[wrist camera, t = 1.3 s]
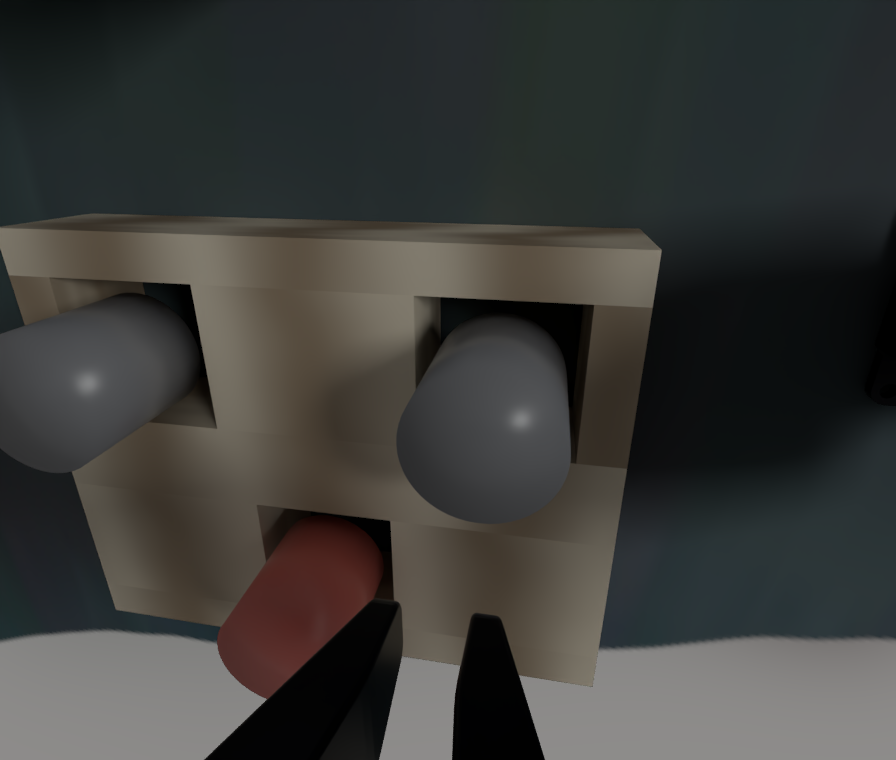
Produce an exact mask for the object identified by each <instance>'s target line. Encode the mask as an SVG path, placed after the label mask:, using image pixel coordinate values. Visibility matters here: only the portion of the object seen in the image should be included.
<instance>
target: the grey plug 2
mask: <svg viewBox="0 0 896 760" xmlns="http://www.w3.org/2000/svg"><path fill="white" fill-rule="evenodd" d="M396 446H397V454H398V458H399V462H400V465H401V467H402V470H403V472H404V474H405V476H406V478H407V479H408V481H409V483H410V484H411V485H412V487H413V488H414V489H415V490H416V491H417V493H418V494H419V495H420V496H421V497H422V498H424V499H425V500H426V501H427V502H428V503H429V504H431V505H432V506H434V507H435V508H437V509H438V510H440V511H442V512H444V513H446V514H448V515H450V516H453V517H455V518H458V519H461V520H465V521H468V522H474V523H482V524H500V523H507V522H512V521H516V520H519V519H522V518H525V517H527V516H530V515H532V514H533V513H535V512H537V511H539V510H540V509H541V508H543V507H544V506H545V505H547V504H548V503H549V502H550V501H551V500H552V499H553V498H554V497H555V496H556V494H557V493H558V492H559V490H560V489H561V487H562V485H563V483H564V482H565V480H566V477H567V474H568V471H569V466H570V461H571V443H570V424H569V405H568V386H567V370H566V364H565V360H564V356H563V354H562V352H561V349H560V348H559V346H558V344H557V343H556V341H555V340H554V339H553V337H552V336H551V335H550V334H549V333H548V332H547V331H546V330H545V329H544V328H542V327H541V326H539V325H538V324H537V323H535V322H533V321H531V320H529V319H527V318H524V317H522V316H519V315H515V314H510V313H487V314H482V315H478V316H475V317H473V318H470V319H468V320H466V321H465V322H463V323H461V324H460V325H458V326H457V327H456V328H455V329H453V330H452V332H451V333H450V334H449V335H448V336H447V337H446V339H445V340H444V341H443V343H442V345H441V347H440V348H439V350H438V352H437V354H436V355H435V357H434V359H433V361H432V362H431V364H430V366H429V367H428V369H427V371H426V373H425V374H424V376H423V378H422V380H421V381H420V383H419V385H418V387H417V388H416V390H415V392H414V394H413V395H412V397H411V399H410V401H409V402H408V404H407V406H406V408H405V410H404V412H403V413H402V415H401V418H400V421H399V424H398V429H397V436H396Z"/></svg>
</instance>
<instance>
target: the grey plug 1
mask: <svg viewBox="0 0 896 760" xmlns="http://www.w3.org/2000/svg"><path fill="white" fill-rule="evenodd" d="M200 370H201V360H200V353H199V349H198V346H197V343H196V341H195V338H194V336H193V334H192V333H191V331H190V329H189V328H188V326H187V325H186V324H185V322H184V321H183V320H182V318H181V317H180V316H179V315H178V314H177V313H176V312H174V311H173V310H172V309H171V308H170V307H168V306H167V305H165V304H164V303H163V302H161V301H159V300H157V299H155V298H153V297H150V296H148V295H144V294H140V293H121V294H117V295H114V296H111V297H108V298H105V299H103V300H100V301H97V302H94V303H91V304H88V305H85V306H82V307H79V308H76V309H73V310H70V311H67V312H64V313H61V314H58V315H55V316H52V317H49V318H46V319H43V320H40V321H37V322H34V323H31V324H28V325H26V326H23V327H20V328H17V329H14V330H11V331H8V332H5V333H2V334H0V449H1V450H3V451H4V452H5V453H7V454H8V455H9V456H11V457H12V458H14V459H16V460H17V461H19V462H21V463H23V464H25V465H27V466H29V467H32V468H34V469H37V470H41V471H45V472H50V473H67V472H71V471H75V470H77V469H80V468H81V467H83V466H84V465H86V464H87V463H89V462H90V461H92V460H93V459H95V458H96V457H98V456H99V455H101V454H102V453H103V452H105V451H106V450H108V449H109V448H111V447H112V446H114V445H115V444H117V443H118V442H120V441H121V440H123V439H124V438H126V437H127V436H129V435H130V434H132V433H133V432H134V431H136V430H137V429H139V428H140V427H142V426H143V425H145V424H146V423H148V422H149V421H151V420H152V419H154V418H155V417H157V416H158V415H160V414H161V413H163V412H164V411H165V410H167V409H168V408H170V407H171V406H173V405H174V404H176V403H177V402H179V401H180V400H182V399H183V398H185V397H186V396H188V395H189V394H190V393H191V392H192V390H193V389H194V388H195V386H196V384H197V382H198V379H199V376H200Z"/></svg>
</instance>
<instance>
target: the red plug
mask: <svg viewBox="0 0 896 760" xmlns="http://www.w3.org/2000/svg"><path fill="white" fill-rule="evenodd" d="M383 571H384V564H383V558H382V555H381V552H380V550H379V548H378V546H377V545H376V543H375V542H374V541H373V539H372V538H371V537H370V536H369V535H368V534H367V533H366V532H365V531H364V530H362V529H361V528H360V527H358V526H357V525H355V524H353V523H351V522H349V521H347V520H344V519H342V518H338V517H335V516H329V515H314V516H309V517H306V518H303V519H301V520H299V521H297V522H296V523H295V524H293V525H292V526H291V527H290V529H289V530H288V532H287V533H286V534H285V536H284V537H283V539H282V540H281V542H280V543H279V545H278V546H277V547H276V549H275V550H274V552H273V553H272V555H271V556H270V557H269V559H268V560H267V562H266V563H265V565H264V566H263V568H262V569H261V570H260V572H259V573H258V575H257V576H256V578H255V579H254V580H253V582H252V583H251V585H250V586H249V588H248V589H247V591H246V592H245V593H244V595H243V596H242V598H241V599H240V601H239V602H238V604H237V605H236V606H235V608H234V609H233V611H232V612H231V614H230V615H229V616H228V618H227V619H226V621H225V622H224V624H223V625H222V627H221V628H220V631H219V633H218V638H217V645H218V651H219V654H220V656H221V659H222V661H223V663H224V665H225V666H226V667H227V669H228V670H229V672H230V673H231V674H232V675H233V676H234V677H235V678H236V679H237V680H238V681H239V682H240V683H241V684H242V685H244V686H245V687H246V688H248V689H249V690H251V691H252V692H254V693H256V694H258V695H259V696H262V697H264V698H266V699H268V698H269V697H270V696H271V695H272V694H273V693H274V692H276V691H277V690H278V689H279V688H280V687H281V686H282V685H283V684H284V683H285V682H286V681H287V680H288V679H289V678H290V677H291V676H292V675H293V674H294V673H295V672H296V671H297V670H298V669H300V668H301V667H302V666H303V665H304V664H305V663H306V662H307V661H308V660H309V659H310V658H311V657H312V656H313V655H314V654H315V653H316V652H317V651H318V650H319V649H320V648H321V647H323V646H324V645H325V644H326V643H327V642H328V641H329V640H330V639H331V638H332V637H333V636H334V635H335V634H336V633H337V632H338V631H339V630H340V629H341V628H342V627H343V626H344V625H345V624H347V623H348V622H349V621H350V620H351V619H352V618H353V617H354V616H355V615H356V614H357V613H358V612H359V611H360V610H361V609H362V608H363V607H364V606H365V605H366V604H367V603H368V602H370V601H371V600H373V598H374V596H375V594H376V591H377V589H378V586H379V584H380V581H381V579H382V576H383Z"/></svg>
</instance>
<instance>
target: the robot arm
mask: <svg viewBox="0 0 896 760" xmlns="http://www.w3.org/2000/svg"><path fill="white" fill-rule="evenodd" d="M875 347H876V348H877V351H876V354H875V357H874V360H873V363H872V366H871V369H870V372H869V375H868V378H867V381H866V384H865V393H866V395H867V396H868V397H870V398H871V399H872V400H873V401H875V402H876V403H877V404H881V405H888V406H896V281H895V284H894V287H893V290H892V293H891V296H890V299H889V302H888V305H887V308H886V311H885V314H884V317H883V320H882V323H881V326H880V329H879V332H878V335H877V337H876V340H875ZM887 384H891V387H890V389H889V390H888V391H886V392H885V393H880V390H881V388H882V387H883V386H885V385H887ZM402 651H403V626H402V608H401V605H400V603H399V602H397V601H392V600H386V599H379V598H375V599H373V600H371V601H370V602H368V603H367V604H366V605H365V606H364V607H363V608H362V609H361V610H360V611H359V612H358V613H357V614H356V615H355V616H354V617H353V618H352V619H351V620H350V621H349V622H348V623H347V624H345V625H344V626H343V627H342V628H341V629H340V630H339V631H338V632H337V633H336V634H335V635H334V636H333V637H332V638H331V639H330V640H329V641H328V642H327V643H326V644H325V645H324V646H323V647H321V648H320V649H319V650H318V651H317V652H316V653H315V654H314V655H313V656H312V657H311V658H310V659H309V660H308V661H307V662H306V663H305V664H304V665H303V666H302V667H301V668H300V669H298V670H297V671H296V672H295V673H294V674H293V675H292V676H291V677H290V678H289V679H288V680H287V681H286V682H285V683H284V684H283V685H282V686H281V687H280V688H279V689H278V690H277V691H276V692H274V693H273V694H272V695H271V696H270V697H269V698H268V699H267V700H266V701H265V702H264V703H263V704H262V705H261V706H260V707H259V708H258V709H257V710H256V711H255V712H254V713H253V714H252V715H250V717H248V718H247V719H246V720H245V721H244V722H243V723H242V724H241V725H240V726H239V727H238V728H237V729H236V730H235V731H234V732H233V733H232V734H231V735H230V736H229V737H227V738H226V739H225V741H223V742H222V743H221V744H220V745H219V746H218V747H217V748H216V749H215V750H214V751H213V752H212V753H211V754H210V755H209V756H208V757H207V758H206V759H205V760H379V757H380V753H381V749H382V744H383V740H384V735H385V731H386V726H387V722H388V717H389V713H390V708H391V704H392V699H393V694H394V690H395V685H396V681H397V676H398V672H399V667H400V663H401V658H402ZM453 726H454V727H453V751H452V760H545V759H544V755H543V752H542V749H541V746H540V742H539V739H538V736H537V733H536V729H535V726H534V723H533V720H532V716H531V713H530V710H529V707H528V703H527V700H526V697H525V694H524V690H523V688H522V685H521V681H520V678H519V674H518V671H517V668H516V665H515V661H514V658H513V655H512V652H511V648H510V645H509V642H508V639H507V635H506V632H505V629H504V626H503V623H502V620H501V619H500V617H499V616H496V615H489V614H482V613H474V614H473V615H472V616H471V619H470V623H469V628H468V633H467V638H466V642H465V647H464V652H463V657H462V661H461V666H460V671H459V676H458V680H457V687H456V693H455V705H454V725H453Z"/></svg>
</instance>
